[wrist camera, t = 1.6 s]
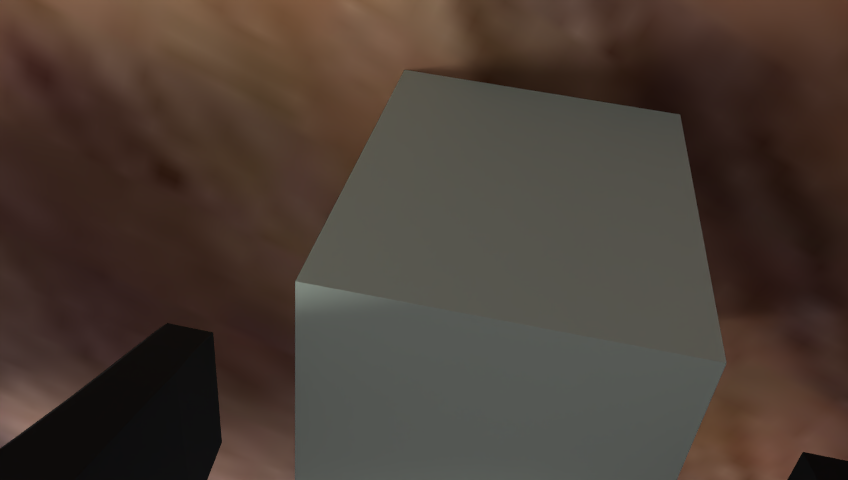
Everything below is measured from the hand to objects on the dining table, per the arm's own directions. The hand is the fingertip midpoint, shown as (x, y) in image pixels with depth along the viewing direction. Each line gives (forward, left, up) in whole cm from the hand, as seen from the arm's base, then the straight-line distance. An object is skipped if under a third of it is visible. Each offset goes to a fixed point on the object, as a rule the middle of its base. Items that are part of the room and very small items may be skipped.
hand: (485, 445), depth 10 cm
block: (0, 0, -6) cm, 6 cm away
